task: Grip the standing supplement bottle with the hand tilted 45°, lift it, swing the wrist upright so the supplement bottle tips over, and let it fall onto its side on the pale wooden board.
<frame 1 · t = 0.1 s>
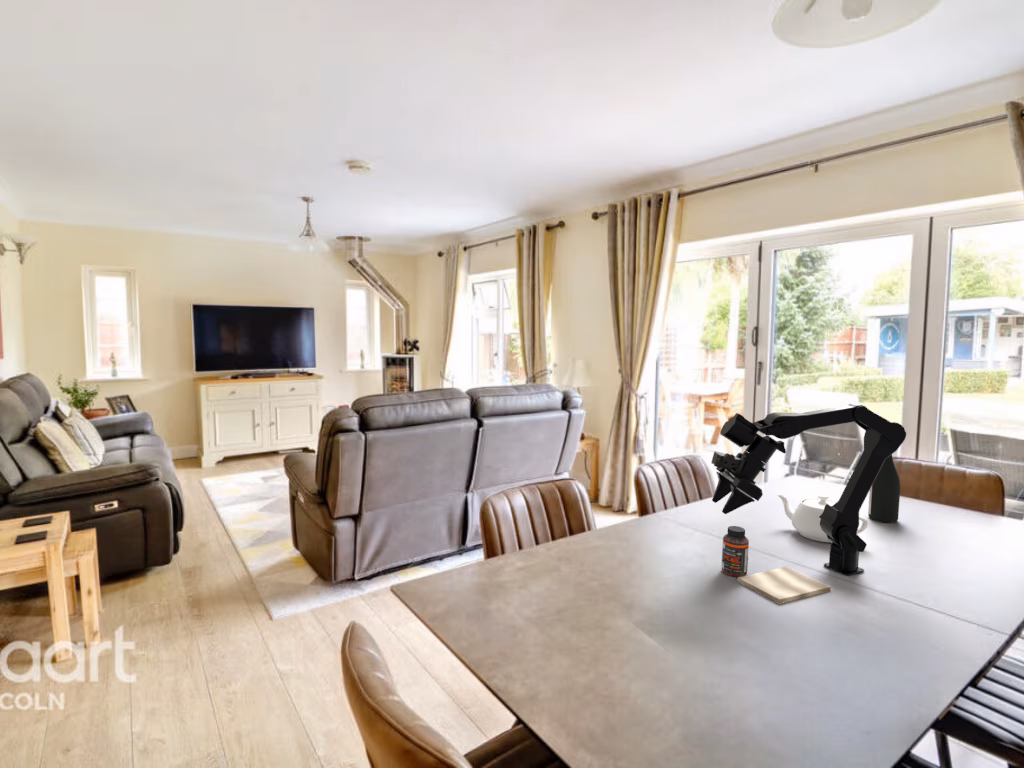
hand: (718, 507, 140), 15 cm above the table, tool tilted 35°, fingers open, 9 cm apart
teapot: (817, 536, 162), on the table
board: (783, 586, 129), on the table
wine bottle: (882, 520, 176), on the table
supplement bottle: (734, 573, 136), on the table
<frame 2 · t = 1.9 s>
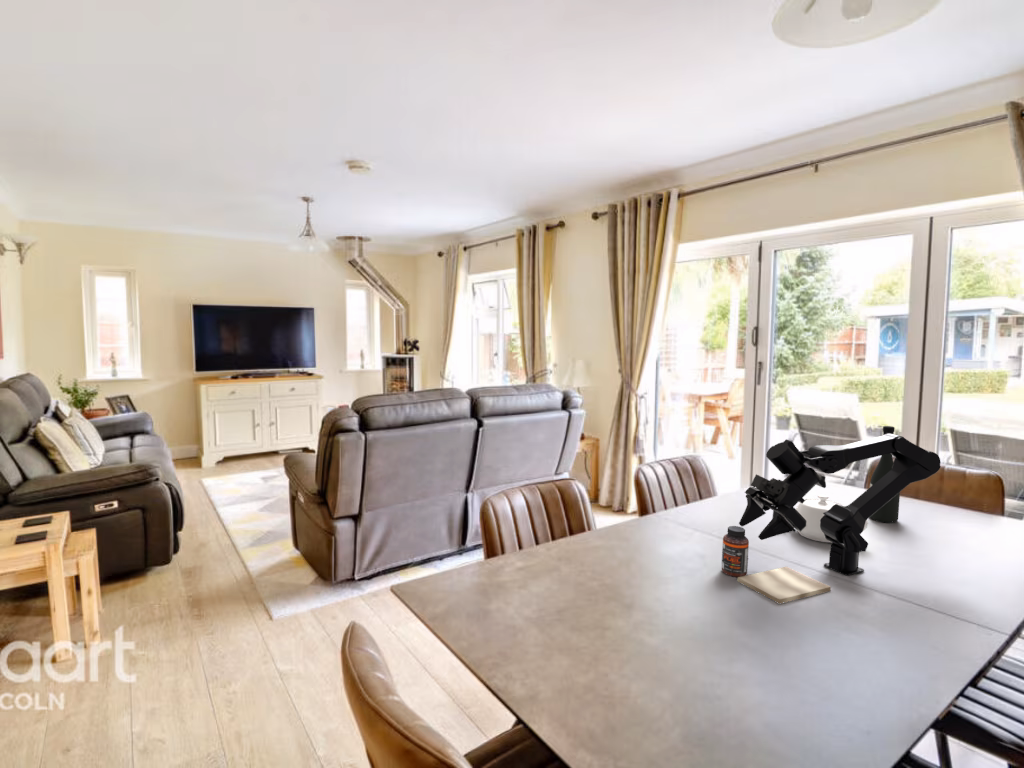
hand: (749, 531, 136), 10 cm above the table, tool tilted 45°, fingers open, 9 cm apart
nothing on the table moved.
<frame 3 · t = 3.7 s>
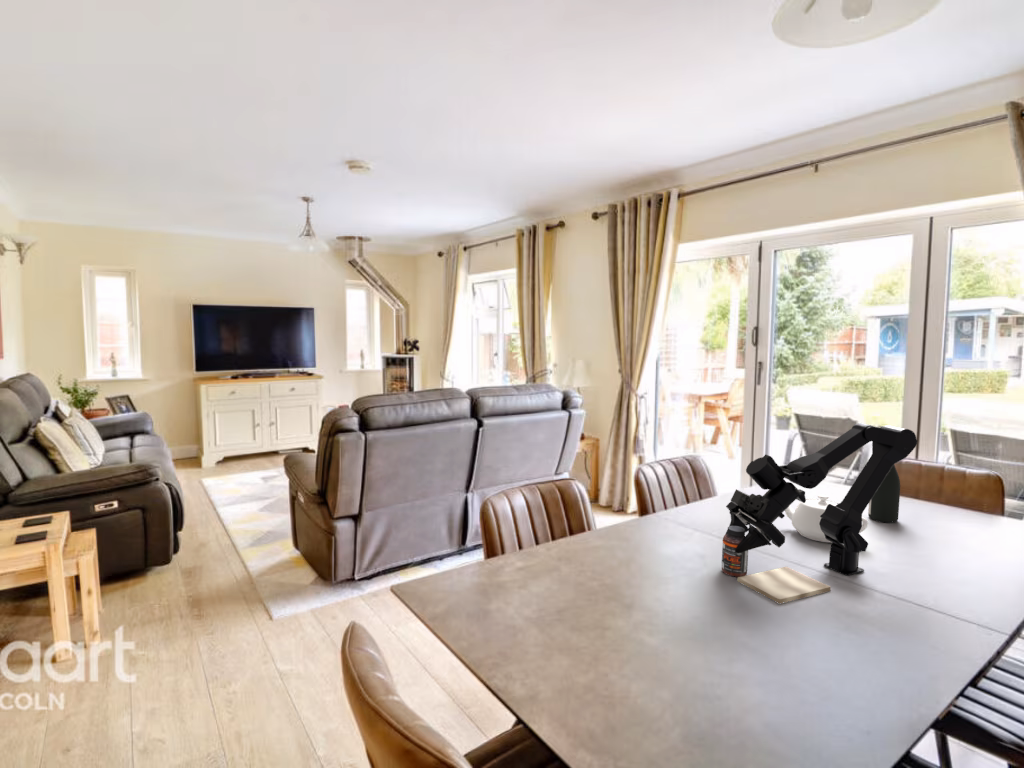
hand: (729, 546, 136), 7 cm above the table, tool tilted 45°, fingers closed on supplement bottle, 6 cm apart
supplement bottle: (734, 573, 136), on the table, touching gripper
everything else where it was.
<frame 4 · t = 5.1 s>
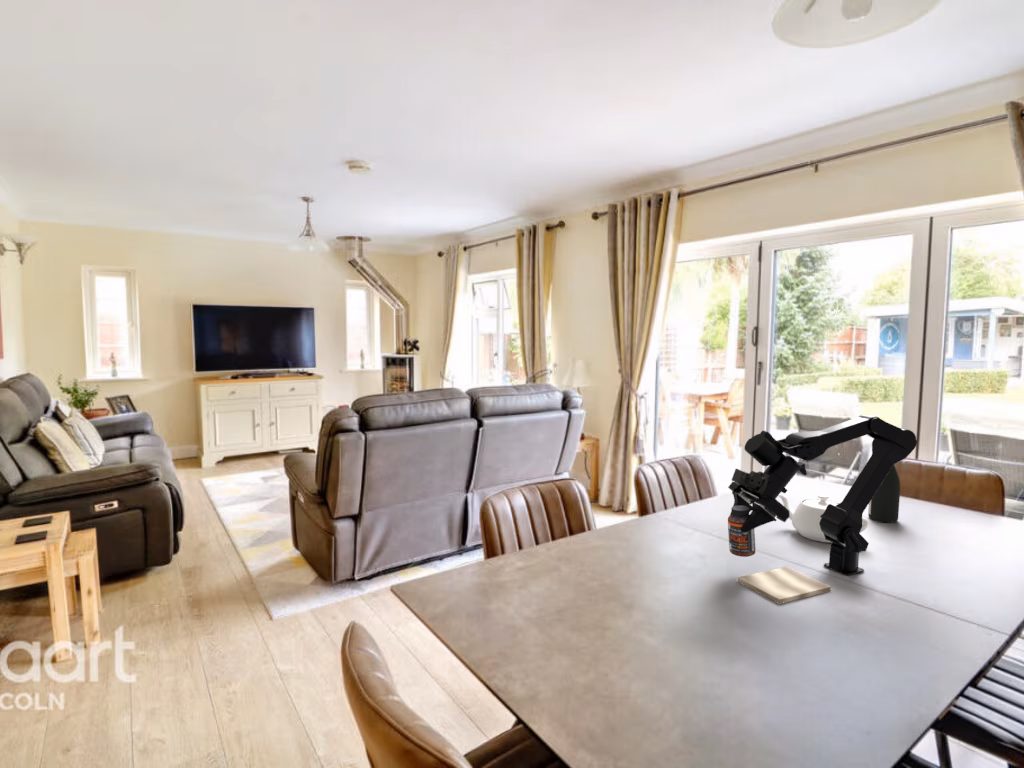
hand: (735, 527, 134), 12 cm above the table, tool tilted 40°, fingers closed on supplement bottle, 6 cm apart
supplement bottle: (742, 553, 135), point 5 cm above the table, touching gripper
everything else where it was.
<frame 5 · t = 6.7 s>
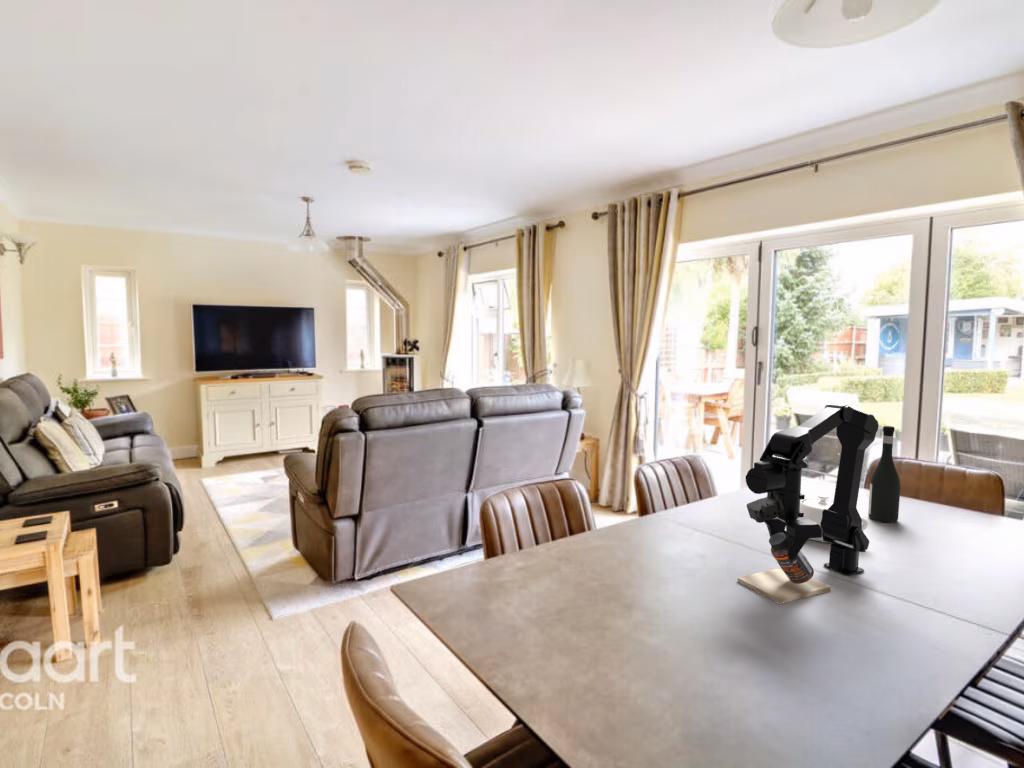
hand: (783, 554, 128), 8 cm above the table, tool pointing down, fingers closed on supplement bottle, 6 cm apart
supplement bottle: (802, 576, 129), point 3 cm above the table, touching board, gripper
everything else where it was.
when the fingers open (8 cm above the table, at t = 7.5 s): supplement bottle moves 3 cm, resting on board.
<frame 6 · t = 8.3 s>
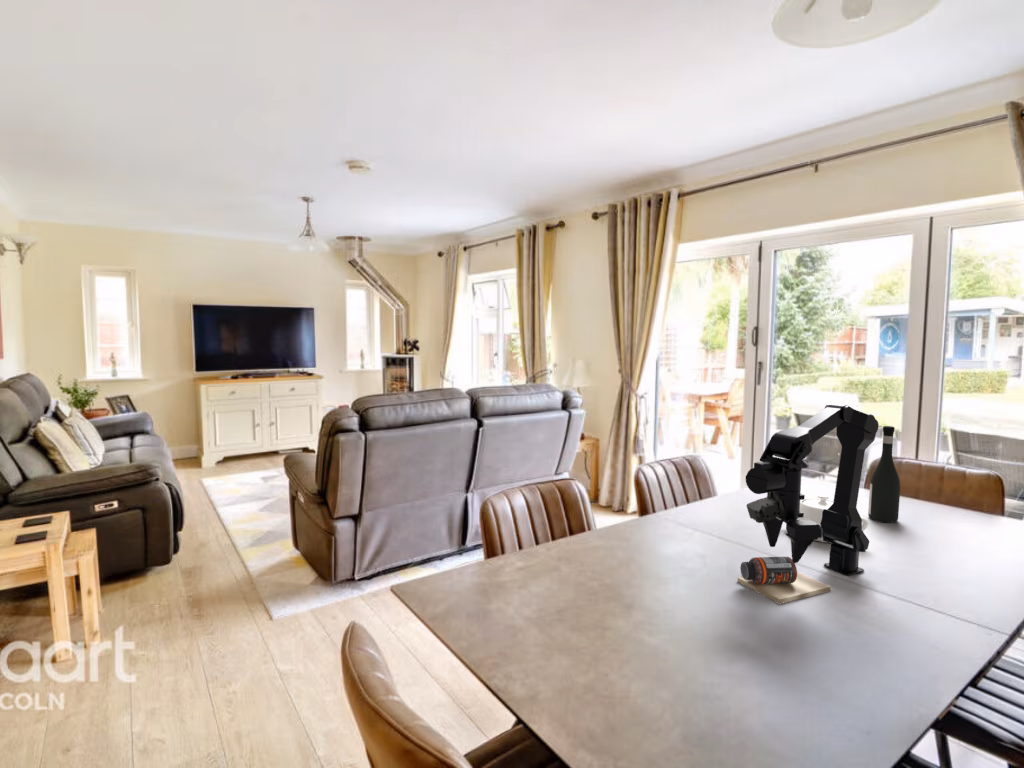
hand: (783, 554, 128), 8 cm above the table, tool pointing down, fingers open, 9 cm apart
supplement bottle: (792, 569, 129), point 4 cm above the table, touching board
everything else where it was.
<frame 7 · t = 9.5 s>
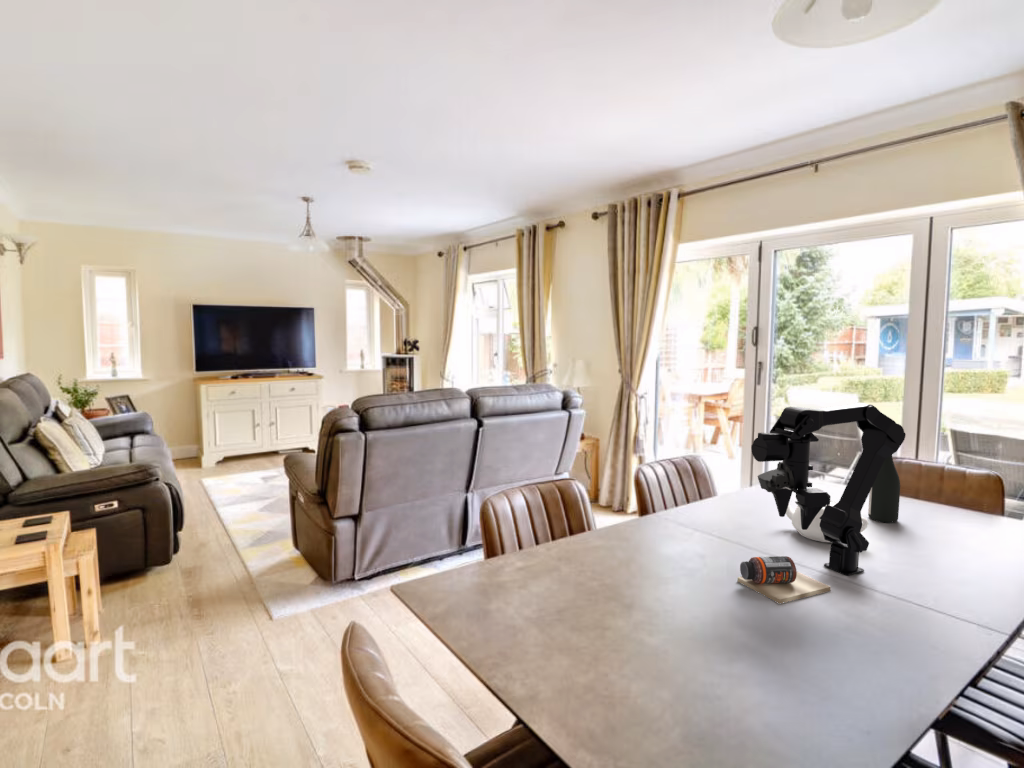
hand: (792, 522, 134), 13 cm above the table, tool pointing down, fingers open, 9 cm apart
nothing on the table moved.
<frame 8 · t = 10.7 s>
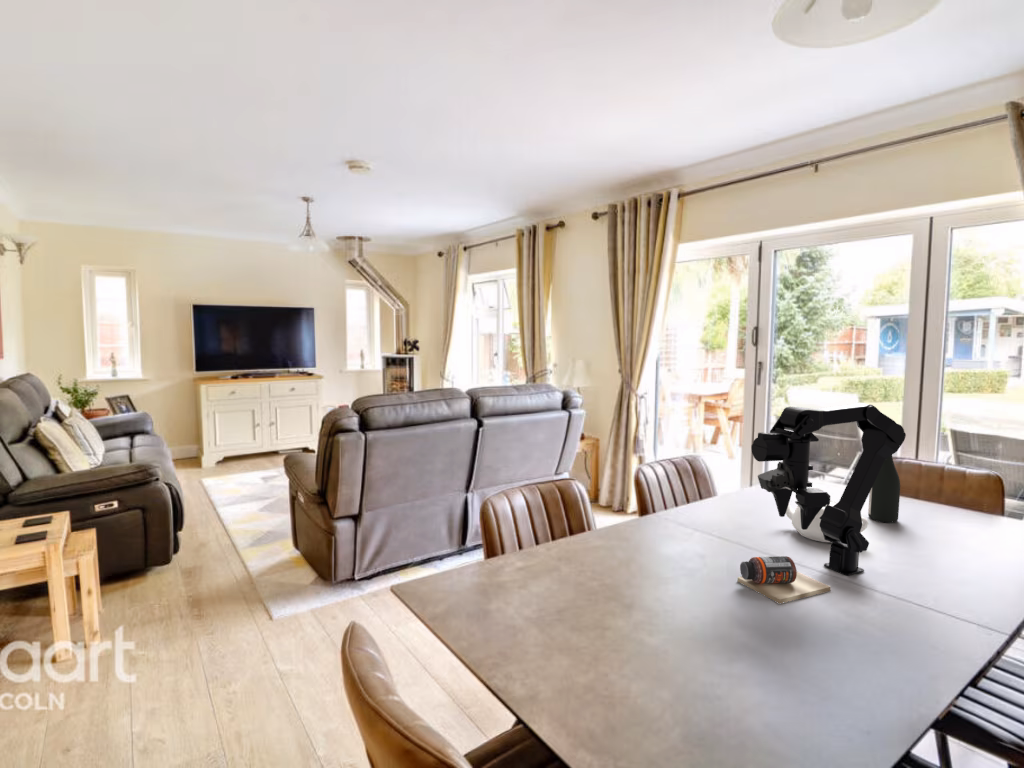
hand: (792, 522, 134), 13 cm above the table, tool pointing down, fingers open, 9 cm apart
nothing on the table moved.
at the end: supplement bottle tilted 91°; supplement bottle inside the target area on the board (1.9 cm from its centre), point 4.0 cm above the board's base; the gripper is holding nothing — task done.
